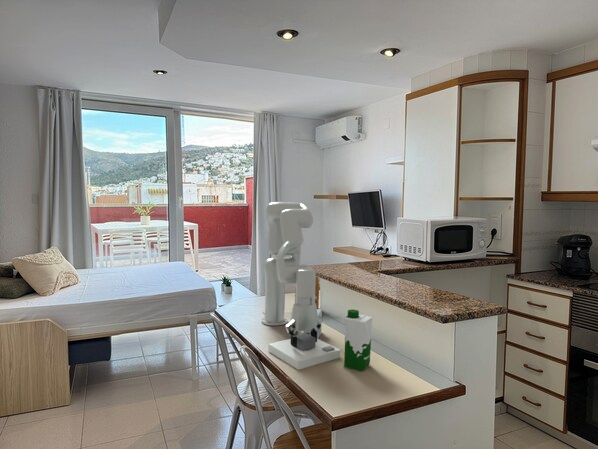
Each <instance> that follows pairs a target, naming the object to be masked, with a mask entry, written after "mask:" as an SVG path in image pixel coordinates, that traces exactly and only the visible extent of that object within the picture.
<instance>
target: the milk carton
mask: <svg viewBox="0 0 598 449" xmlns="http://www.w3.org/2000/svg"><path fill="white" fill-rule="evenodd" d="M359 313H360V310H357V309H348V310H347V316H345V317H344V328H345V329H344V331H345V332H344V355H343V356H344V358H343V367H344V368H348V369H351V370H356V371H359V372H364V371H365V369H366V368H368V367H369V366H370V363H371V362H370V361H371V351H372V350H371V349H372V348H371V347H372V346H371V345H372V328H373V327H372V326H373V323H372V322H373V317H372V316H369V315H365V314H359Z"/></svg>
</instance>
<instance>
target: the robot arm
mask: <svg viewBox="0 0 598 449" xmlns="http://www.w3.org/2000/svg"><path fill="white" fill-rule="evenodd" d="M265 216H266V220H267V223H268V239H267V240H268V241H267V250H268V253H269V254H270V255H271V256H276V257H269V258H267V259H266V260H265V261H264V264H263V272H264V281H265V282H264V284H265V285H264V286H265V287H264V288H265V289H264V290H265V294H264V310H263V311H262V314H263V315H264V316H263V318H261V323H262V324H263V325H265V326H278V327H279V326H283V325H285V330H286V332H287V334H288V335H289V336H290V339H291V345H292V346H293V347H297V337H296V335H299V332H303V331H304V330H309V329H312V330H311V336H313V337H315V338H316V340H315V342H317V332H318V331H319V328H320V327H321V328H322V325H323V318H322V319H321V318H318V317H317V307H316V303H315V299H317V297H316V296H315V280H316V272H315V270H314V269H315V268H312V267H311V266H310V265H309V264H301V254H302V245H303V244H304V236H303V231H302V229H309V228H311V227H312V225H313V223H314V217H313V213H312V212H311V210H310V209H309V208H308V206H306V205H305V204H303V203H302V202H296V201H295V202H292V201H291V202H288V201H273V202H269V203H268V204H267V205H266V208H265ZM286 256H289V257H286ZM292 284H295V288H296V299H295V298H294V303H293V305H292V308H291V317H290V322H289V323H288V319H287V317H285V308H286V307H285V306H286V304H285V302H286V301H285V298H286V286H285V285H292ZM317 321H318V322H317Z"/></svg>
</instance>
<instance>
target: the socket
mask: <svg viewBox="0 0 598 449" xmlns="http://www.w3.org/2000/svg"><path fill="white" fill-rule="evenodd" d="M267 352H269V353H270V354H272V355H273V356H275V357H277V358H279V359H280V360H282V361H283V362H285V363H286V364H288V365H289V366H291V367H293V368H294V369H297V370H303V369H306V368H309V367H312V366H313V367H314V366H316V365H319V364H323V363H326V362H330V361H334V360H336V359H339V358H341V352H342V351H341V349H339V348H338V347H336V346H334V345H332V344H329V343H328V342H325V341H324V340H321V339H317V342H315V348H313V349H310V350H308V351H306V350H305V351H302V350H300V349H298V348H295V347H293V346H292V345H291V338H287V339H285V340H284V339H283V340H279V341H276V342H275V341H274V342H270V343H268V350H267Z"/></svg>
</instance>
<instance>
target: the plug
mask: <svg viewBox="0 0 598 449" xmlns="http://www.w3.org/2000/svg"><path fill="white" fill-rule="evenodd" d="M296 337H297V347H295V348H298V349H300V350H302V351H305V350H306V351H308V350H310V349H313V348H315V340H316V338H315V337H313V336H311V335H309V334H307V333H300V334H299V333H298V334H297V335H296Z"/></svg>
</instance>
